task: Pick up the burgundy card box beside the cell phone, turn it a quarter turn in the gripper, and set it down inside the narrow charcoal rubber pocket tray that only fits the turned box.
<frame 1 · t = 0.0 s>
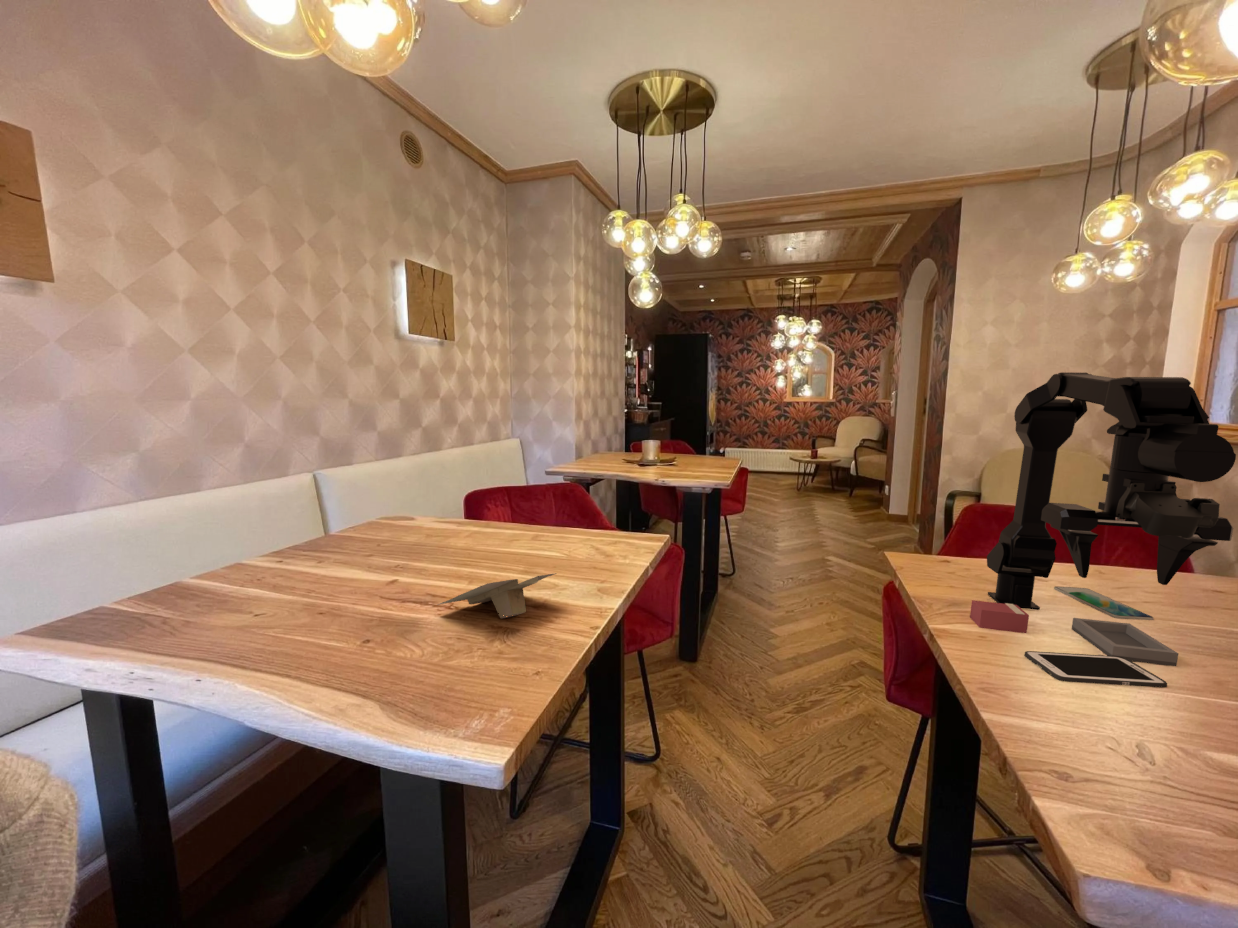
hand: (1121, 580, 72), 15 cm above the table, tool pointing down, fingers open, 9 cm apart
grey winged bracket: (498, 614, 93), on the table
card box: (997, 626, 91), on the table
smartphone: (1099, 605, 102), on the table
pocket tray: (1120, 646, 84), on the table
cell phone: (1091, 673, 77), on the table
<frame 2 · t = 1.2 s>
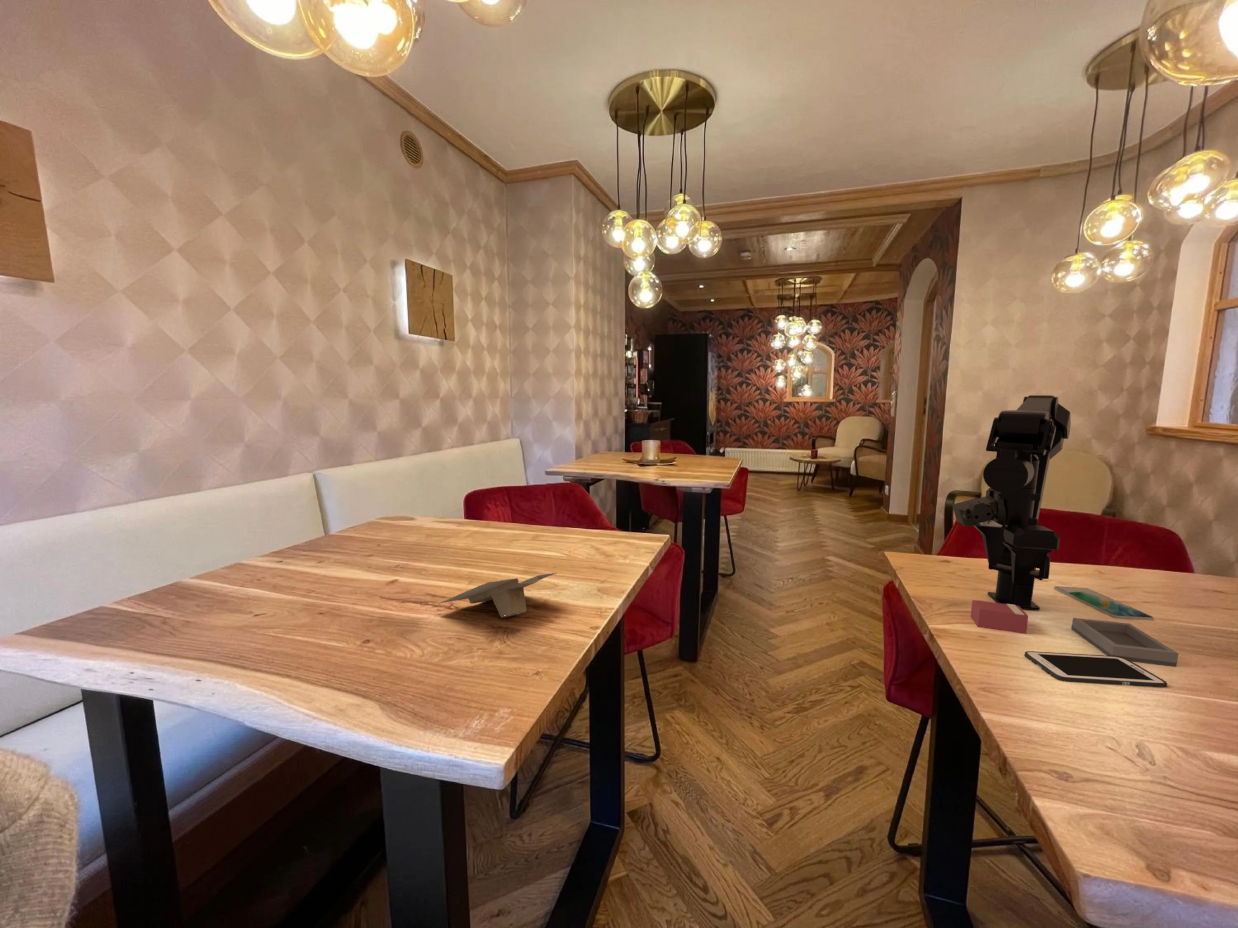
hand: (1003, 573, 90), 9 cm above the table, tool pointing down, fingers open, 9 cm apart
nothing on the table moved.
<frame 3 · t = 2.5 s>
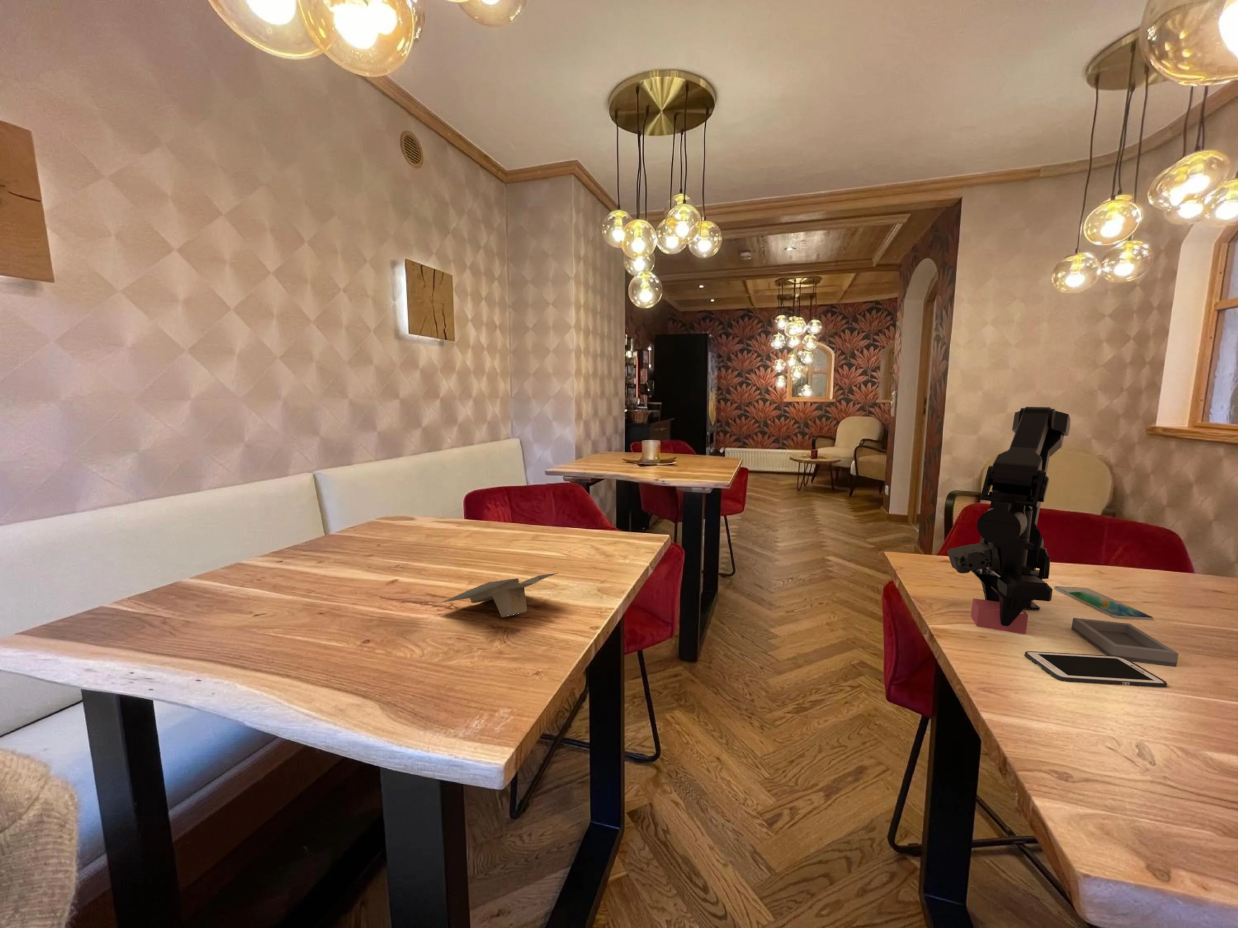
hand: (998, 619, 91), 1 cm above the table, tool pointing down, fingers closed on card box, 5 cm apart
card box: (997, 624, 91), on the table, touching gripper
everything else where it was.
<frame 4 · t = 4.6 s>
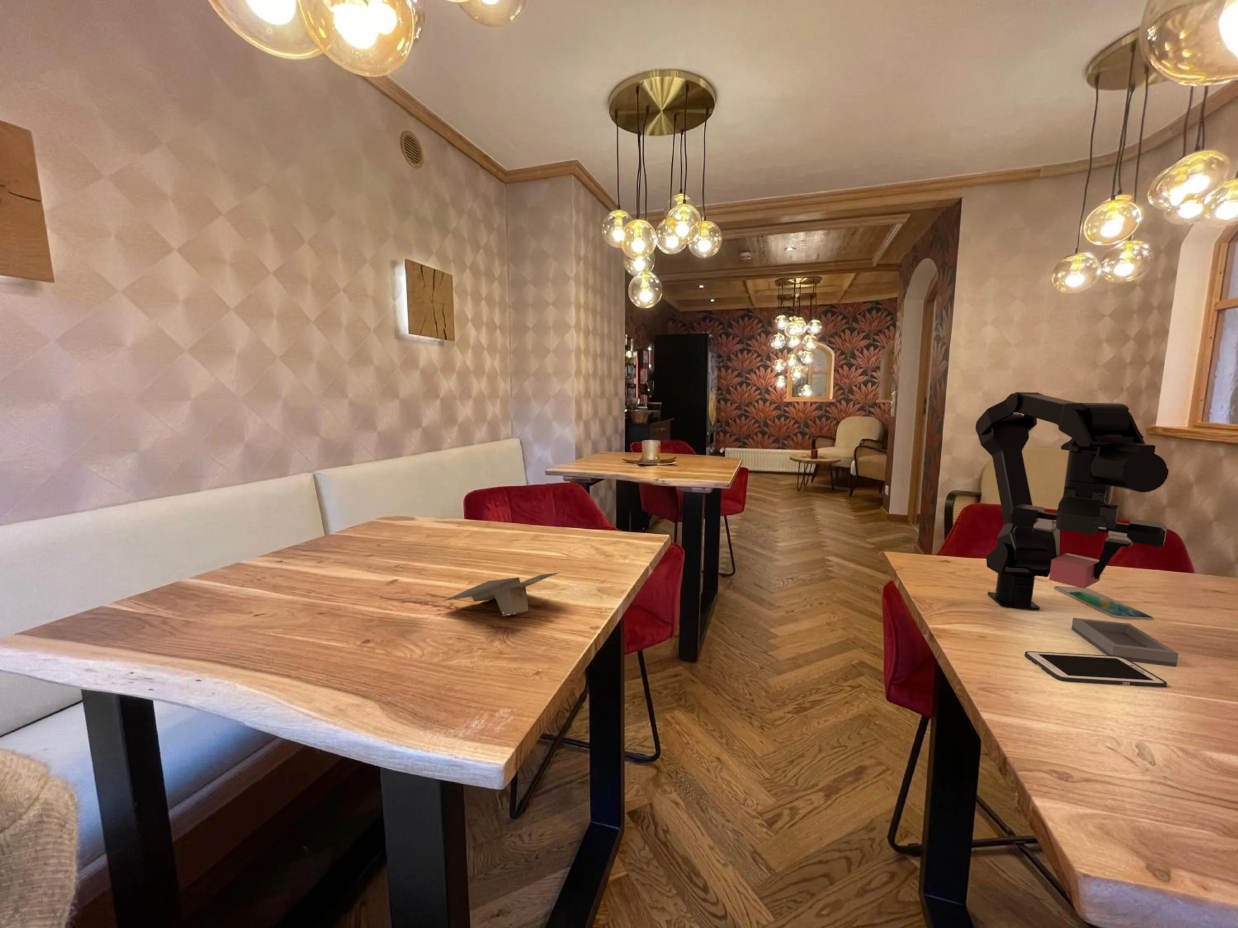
hand: (1075, 574, 85), 11 cm above the table, tool pointing down, fingers closed on card box, 5 cm apart
card box: (1074, 580, 85), point 10 cm above the table, touching gripper
everything else where it was.
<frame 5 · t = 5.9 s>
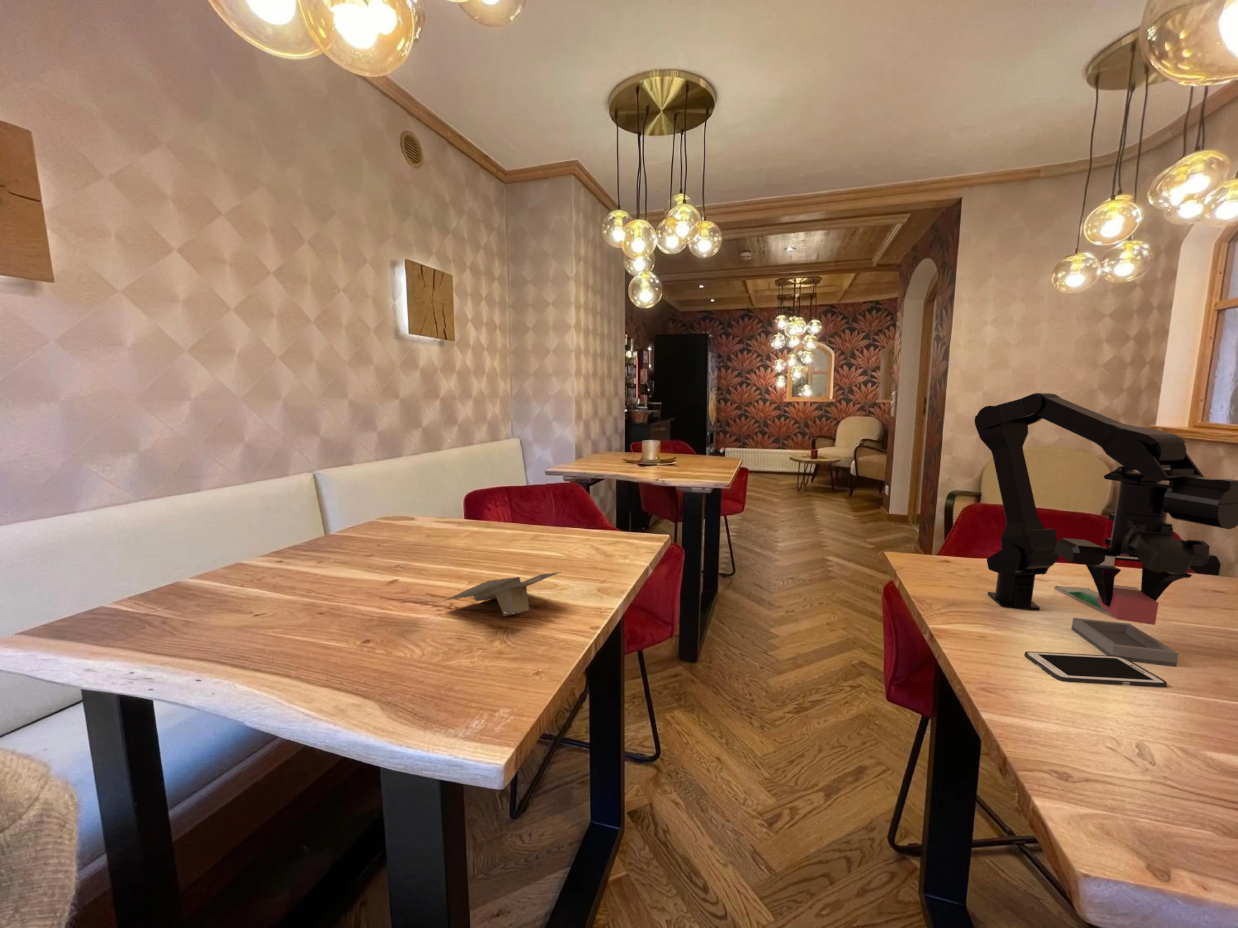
hand: (1125, 607, 83), 7 cm above the table, tool pointing down, fingers closed on card box, 5 cm apart
card box: (1124, 613, 83), point 6 cm above the table, touching gripper
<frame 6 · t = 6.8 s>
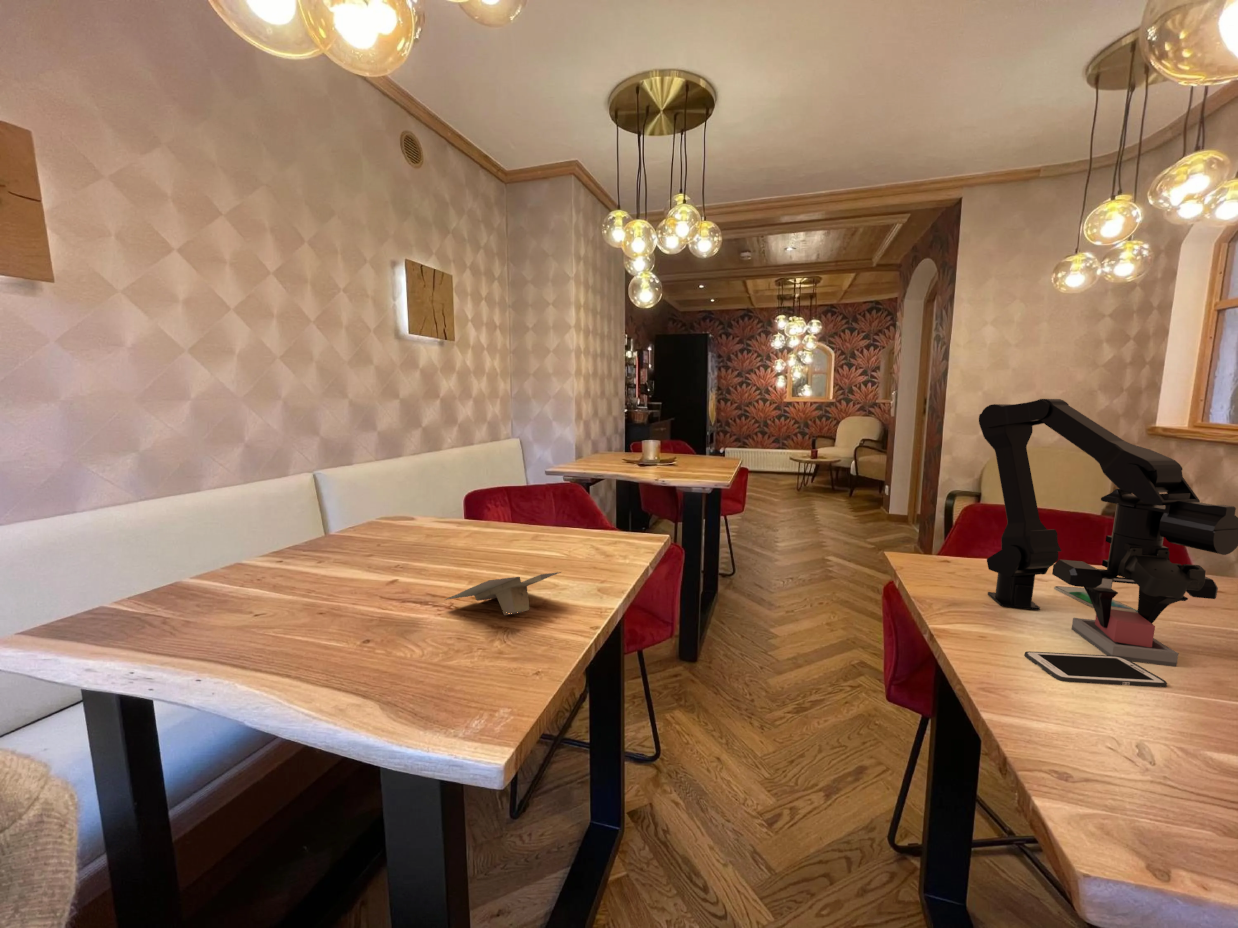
hand: (1122, 628, 84), 3 cm above the table, tool pointing down, fingers closed on card box, 5 cm apart
card box: (1121, 635, 84), point 2 cm above the table, touching gripper
when the fingers open (3 cm above the table, at t = 6.9 s): card box drops 1 cm, resting on pocket tray.
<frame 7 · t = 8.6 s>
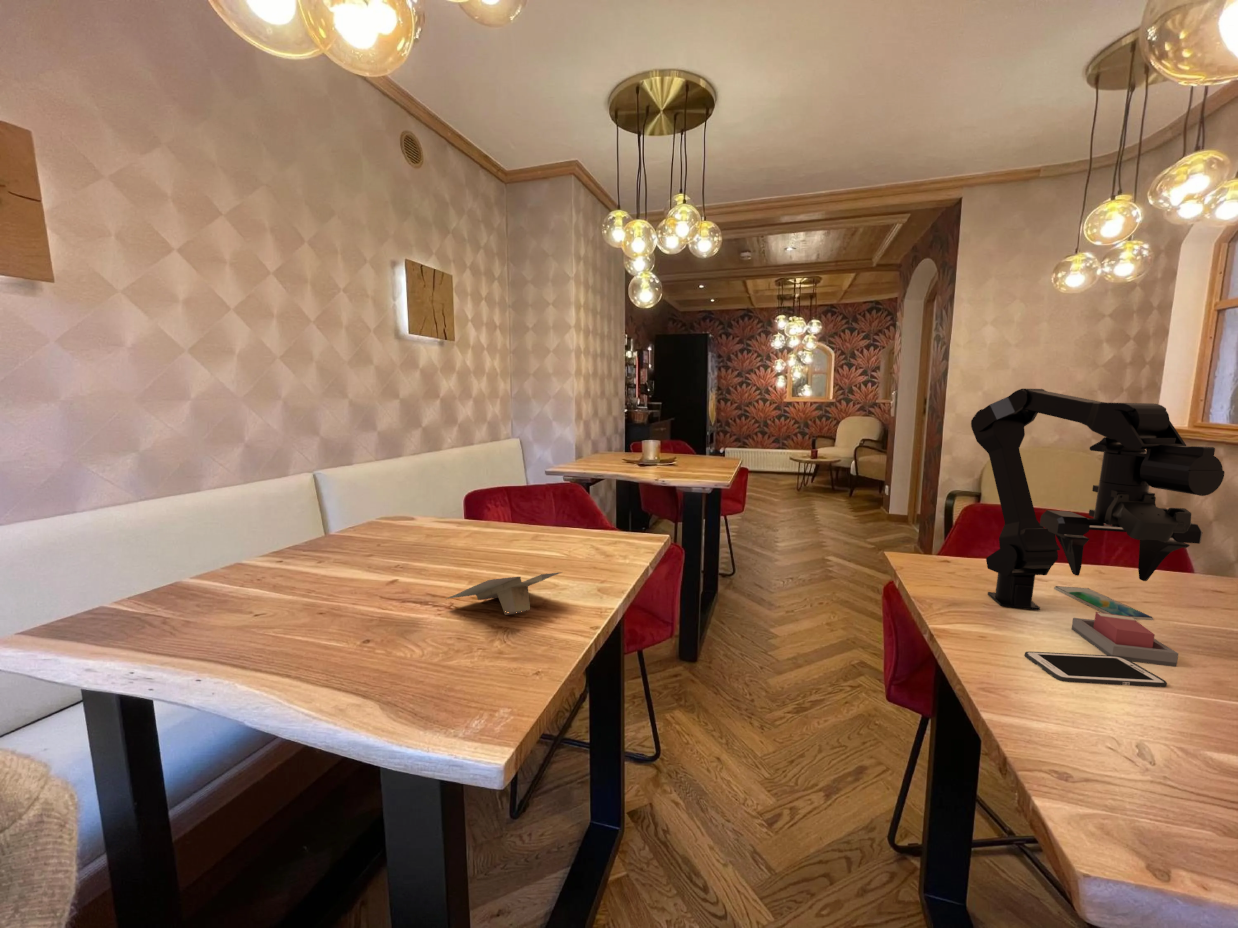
hand: (1108, 577, 84), 11 cm above the table, tool pointing down, fingers open, 9 cm apart
card box: (1120, 642, 84), point 1 cm above the table, touching pocket tray
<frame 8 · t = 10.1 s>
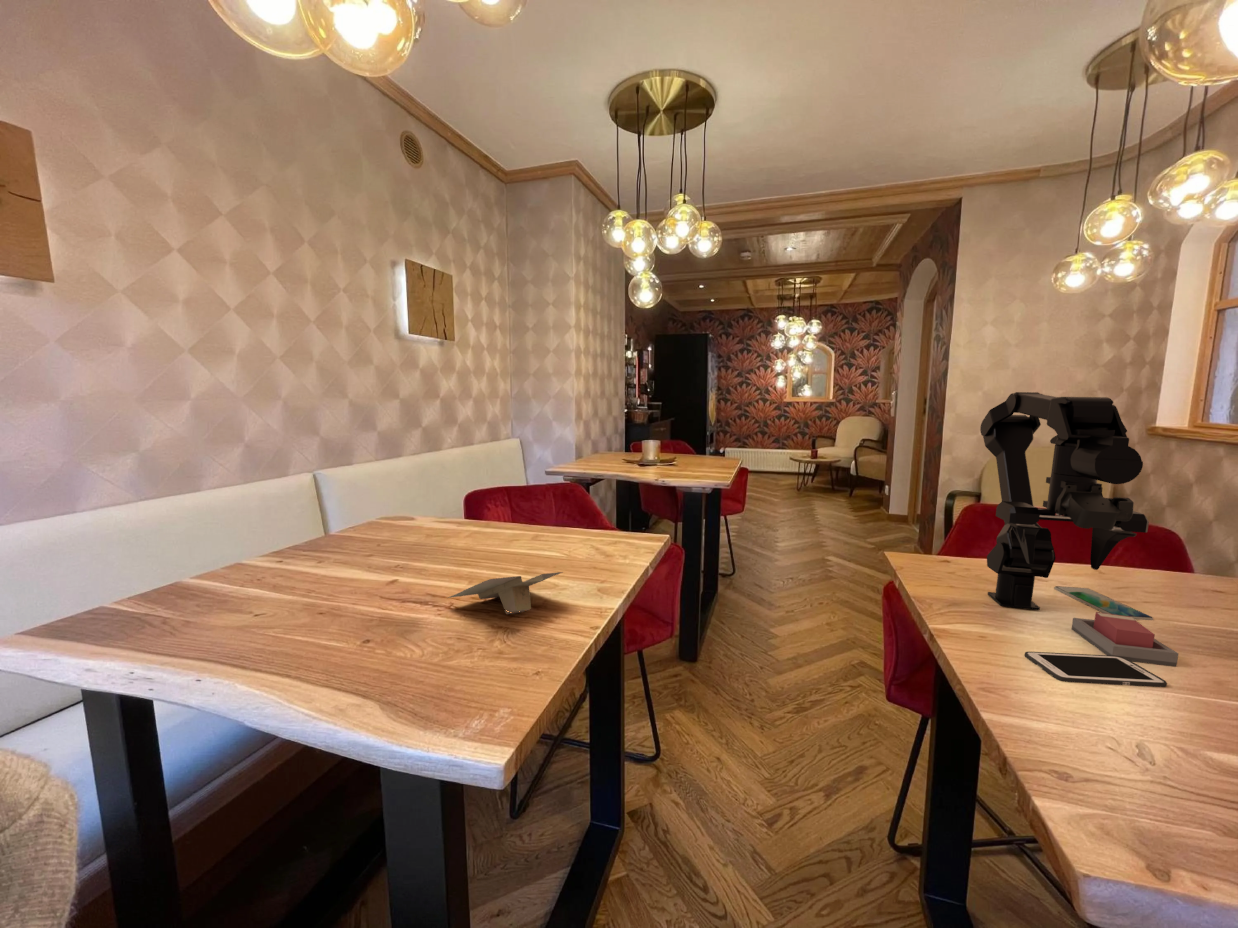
hand: (1061, 566, 86), 12 cm above the table, tool pointing down, fingers open, 9 cm apart
at the end: card box 0.1 cm off-centre on the pocket tray, point 0.6 cm above the pocket tray's base; card box tilted 0°; the gripper is holding nothing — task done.
